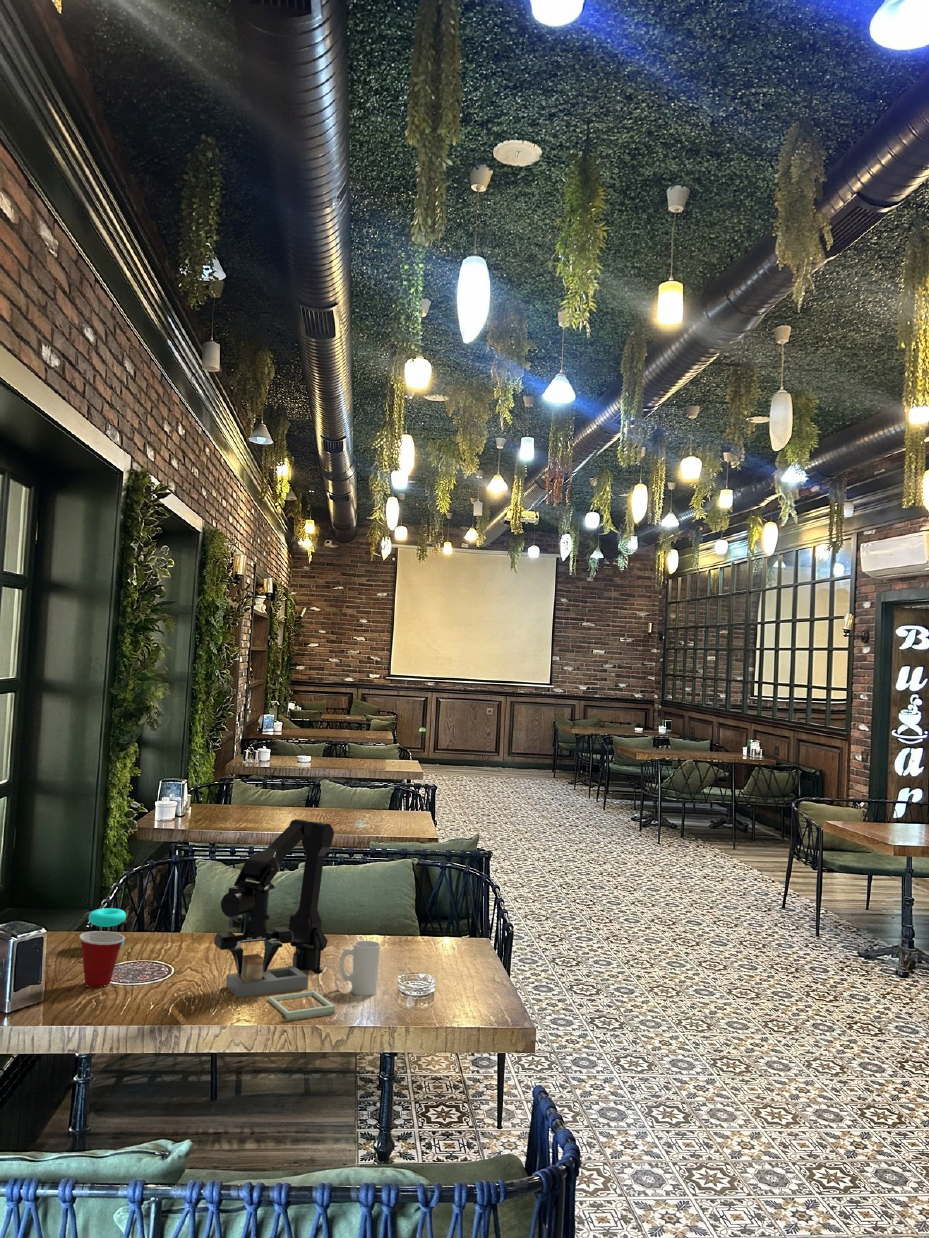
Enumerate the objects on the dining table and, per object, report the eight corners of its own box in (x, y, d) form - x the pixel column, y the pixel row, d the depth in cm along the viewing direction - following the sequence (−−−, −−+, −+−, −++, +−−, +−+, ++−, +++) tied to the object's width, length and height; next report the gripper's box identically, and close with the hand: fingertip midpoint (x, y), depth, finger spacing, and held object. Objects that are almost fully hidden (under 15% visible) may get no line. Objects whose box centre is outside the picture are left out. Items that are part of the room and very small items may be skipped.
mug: (376, 987, 242) (379, 940, 243) (377, 996, 235) (380, 948, 236) (337, 987, 241) (340, 939, 242) (337, 995, 234) (340, 947, 235)
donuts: (133, 908, 269) (114, 917, 259) (130, 944, 268) (111, 953, 259) (101, 905, 271) (81, 913, 261) (98, 940, 270) (78, 950, 260)
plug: (255, 986, 235) (257, 953, 236) (261, 990, 232) (263, 957, 232) (240, 988, 233) (242, 955, 234) (245, 992, 230) (247, 959, 230)
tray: (314, 997, 232) (314, 990, 232) (334, 1013, 222) (334, 1005, 222) (267, 1004, 225) (268, 996, 226) (286, 1020, 215) (287, 1012, 215)
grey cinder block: (293, 981, 243) (294, 966, 243) (306, 992, 236) (307, 976, 236) (225, 990, 234) (226, 974, 234) (237, 1001, 226) (238, 984, 226)
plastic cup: (119, 990, 229) (123, 940, 230) (72, 991, 226) (76, 941, 227) (123, 976, 240) (127, 929, 241) (78, 977, 237) (82, 929, 238)
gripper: (279, 899, 246) (275, 959, 244) (209, 904, 236) (205, 968, 235) (296, 909, 236) (291, 972, 235) (223, 915, 226) (219, 981, 225)
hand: (251, 972), depth 233 cm, fingers open, 6 cm apart
